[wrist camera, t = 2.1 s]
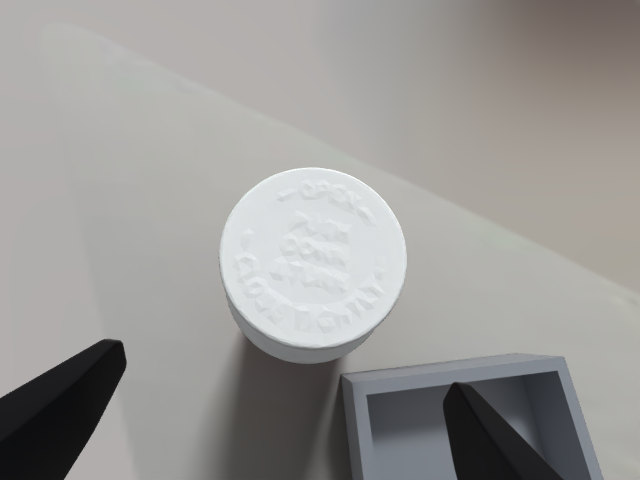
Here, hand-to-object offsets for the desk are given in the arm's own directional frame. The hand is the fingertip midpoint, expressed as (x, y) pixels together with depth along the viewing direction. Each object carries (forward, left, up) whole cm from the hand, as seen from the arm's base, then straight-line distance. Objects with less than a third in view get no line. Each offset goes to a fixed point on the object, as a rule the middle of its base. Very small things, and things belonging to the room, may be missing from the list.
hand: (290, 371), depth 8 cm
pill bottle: (+3, -1, -10) cm, 11 cm away
